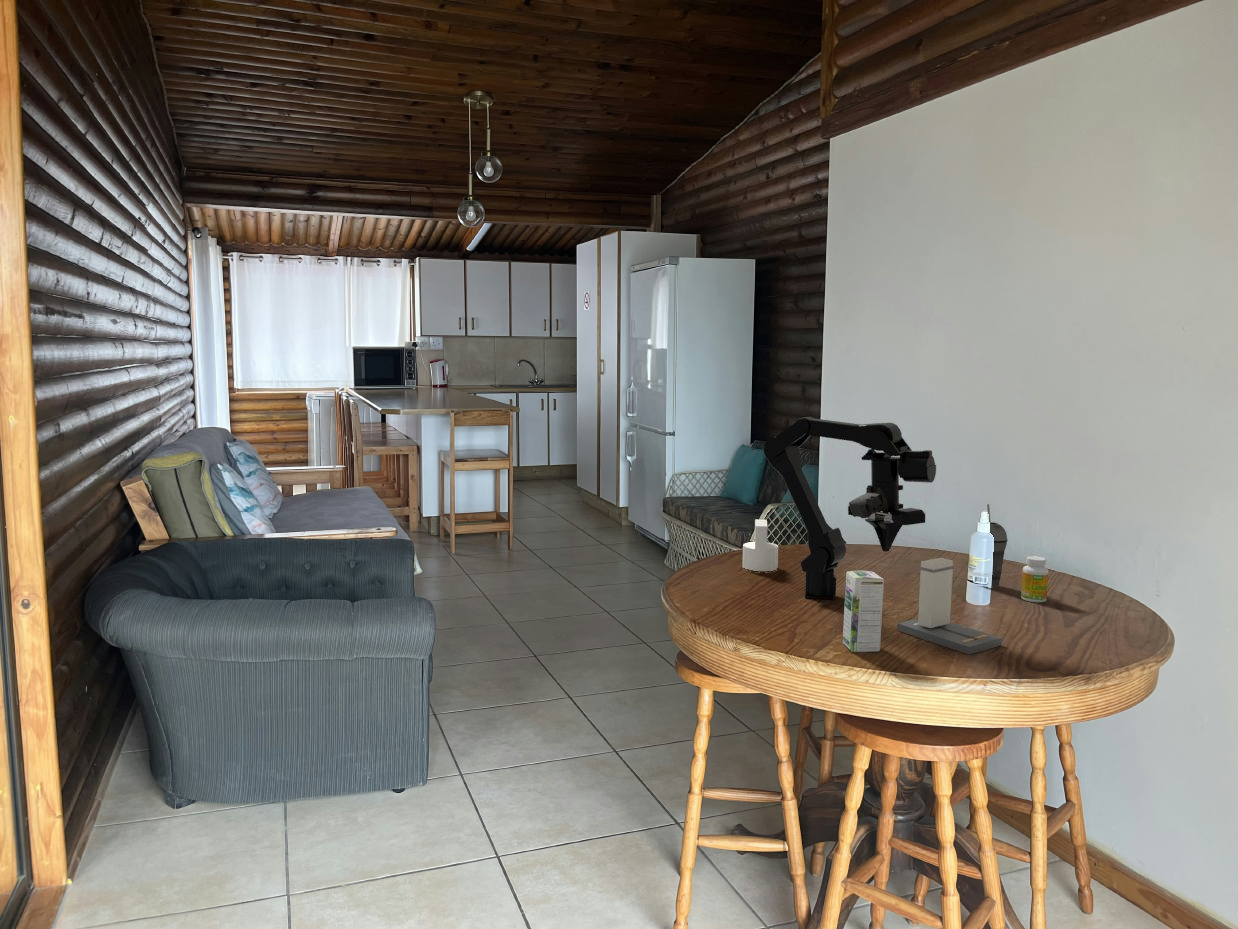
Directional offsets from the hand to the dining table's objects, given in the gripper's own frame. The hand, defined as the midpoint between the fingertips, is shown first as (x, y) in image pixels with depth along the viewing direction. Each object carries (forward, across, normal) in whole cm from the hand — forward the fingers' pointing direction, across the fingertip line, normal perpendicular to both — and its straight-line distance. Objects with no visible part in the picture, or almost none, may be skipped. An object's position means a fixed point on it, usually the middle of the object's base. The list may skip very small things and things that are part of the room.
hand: (885, 551), depth 199 cm
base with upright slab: (+11, -42, -6) cm, 43 cm away
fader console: (+14, +21, -3) cm, 25 cm away
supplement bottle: (+14, +8, +36) cm, 39 cm away
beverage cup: (+14, -4, +35) cm, 38 cm away
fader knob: (+12, +18, -3) cm, 21 cm away
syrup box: (+13, +18, -22) cm, 32 cm away
